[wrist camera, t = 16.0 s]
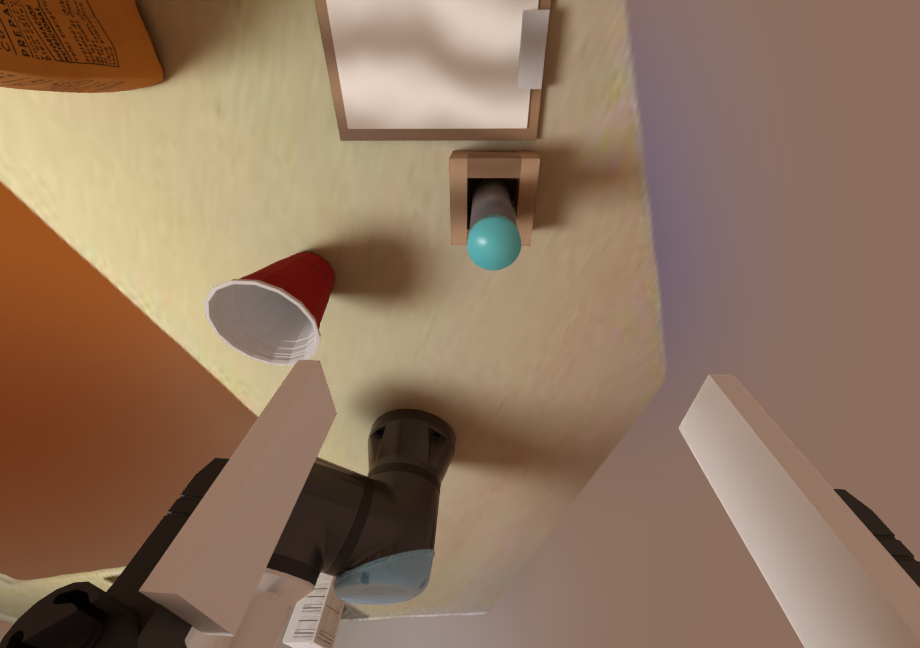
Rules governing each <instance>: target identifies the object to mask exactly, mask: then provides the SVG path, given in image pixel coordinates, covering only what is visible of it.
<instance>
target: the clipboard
mask: <svg viewBox="0 0 920 648" xmlns="http://www.w3.org/2000/svg"><path fill="white" fill-rule="evenodd" d="M315 4H316V10H317V15H318V21H319V26H320V31H321V37H322V42H323V48H324V53H325V58H326V64H327V69H328V74H329V80H330V85H331V91H332V96H333V101H334V107H335V112H336V118H337V123H338V128H339V134H340V139H341V141H351V140H536V137H537V128H538V119H539V109H540V100H541V91H542V82H543V72H544V63H545V54H546V44H547V35H548V26H549V17H550V7H551V0H315Z"/></svg>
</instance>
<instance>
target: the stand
mask: <svg viewBox="0 0 920 648" xmlns="http://www.w3.org/2000/svg"><path fill="white" fill-rule="evenodd" d="M539 166H540V158H539V156H538V155H537V154H536V153H535V152H534V151H453V152H452V154H451V156H450V158H449V172H450V215H451V245H467V242H468V235H469V230H470V220H471V216H469V178H516V179H515V191H514V203H513V213H514V217H515V221H516V225H517V228H518V230H519V234H520V238H521V246H530V243H531V235H532V226H533V218H534V209H535V201H536V192H537V184H538V175H539Z"/></svg>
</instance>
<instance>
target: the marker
mask: <svg viewBox="0 0 920 648" xmlns="http://www.w3.org/2000/svg"><path fill="white" fill-rule="evenodd" d="M467 248H468V253H469V255H470V257H471V259H472V260H473V262H474V263H475V264H477V265H478V266H480V267H481V268H484V269H487V270H500V269H503V268H505V267H507V266H509V265H510V264H512V263H513V262H514V261H515V260H516V258H517V257H518V255H519V253H520V250H521V238H520V234H519V230H518V228H517V225H516V221H515V217H514V213H513V209H512V204H511V200H510V196H509V192H508V189H507V188H506V186H505V185H504V184H503V183H502V182H501V181H499V180H496V179H488V180H485V181H483V182H481V183H480V184H479V185H478V186H477V187H476V189H475V191H474V193H473V201H472V210H471V220H470V230H469V235H468V242H467Z"/></svg>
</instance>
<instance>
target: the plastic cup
mask: <svg viewBox="0 0 920 648" xmlns="http://www.w3.org/2000/svg"><path fill="white" fill-rule="evenodd" d="M334 279H335V277H334V272H333V269H332V268H331V266H330V264H329V263H328V262H327V261H326V260H325V259H323V258H322V257H321V256H319V255H316V254H314V253H312V252H301V253H297V254H295V255H292V256H290V257H288V258H285V259H282V260H280V261H277V262H275V263H273V264H271V265H269V266H267V267H265V268H263V269H261V270H259V271H257V272H254V273H252V274H250V275H247V276H245V277H242V278H240V279H233V280H230V281H228V282H225V283H223V284H220V285H217V286H215V287H213V288H212V290H211V291H210V293H209V294H208V296H207V297H206V299H205V316H206V318H207V320H208V321H209V323H210V325H211V327H212V328H213V330H214V332H215V333H216V334H217V335H218V336H219V337H220V338H221V339H222V340H223V341H225V342H226V343H227V344H228V345H229V346H230V347H231V348H233V349H235V350H236V351H238V352H240V353H242V354H244V355H245V356H247V357H249V358H251V359H254V360H258V361H261V362H264V363H267V364H271V365H288V366H291V365H295V364H296V363H297V361H298V360H308V359H310V358H311V357H312V356H313V355H314V354H315V353H316V352H317V349H318V345H319V341H320V332H319V327H320V322H321V320H322V317H323V314H324V311H325V309H326V306H327V303H328V300H329V296H330V294H331V291H332V289H333V285H334Z"/></svg>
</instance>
